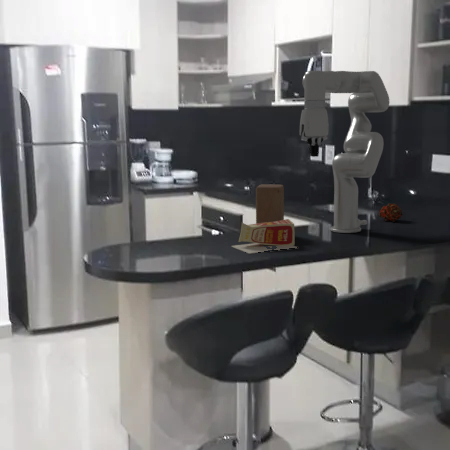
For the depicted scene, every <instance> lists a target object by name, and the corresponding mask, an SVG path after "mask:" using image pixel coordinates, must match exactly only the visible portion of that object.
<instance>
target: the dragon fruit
mask: <svg viewBox="0 0 450 450" xmlns="http://www.w3.org/2000/svg"><path fill="white" fill-rule="evenodd" d="M403 215H404V214H403V211H402V209H401V207H400V206H399V205H397V204H396V203H387V205H383V206H382V207H381V208H380V209H379V210H378V216H379V217H380V218H382V219H384V221H385V222H396V221H397V220H400V219H401V218H402V216H403Z"/></svg>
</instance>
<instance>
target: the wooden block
mask: <svg viewBox="0 0 450 450" xmlns="http://www.w3.org/2000/svg"><path fill="white" fill-rule="evenodd" d="M281 220H285V186H284V185H283V184H276V183H275V184H270V183H269V184H268V183H267V184H262V183H261V184H259V185H258V186H256V188H255V224H257V223H266V222H275V221H281Z"/></svg>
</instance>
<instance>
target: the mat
mask: <svg viewBox="0 0 450 450" xmlns="http://www.w3.org/2000/svg"><path fill="white" fill-rule="evenodd" d="M264 246H268V247H270V248H272V246H276V245H263V244H258V243H244V244H235V245H231V248H233V249H236V250H238V251H241V252H244V253H245V252H246V253H245V254H249V255H252V254H259V253H258V252H261V253H265V252H264V251H268V250H272V249H267V248H266V247H264ZM276 247H277V248H276V249H274V250H278V251H281V250H280V249H287V250H290V249H289V248H295V249H298V248H297V247H298V246H295V245H287V246H276Z"/></svg>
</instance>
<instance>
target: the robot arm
mask: <svg viewBox="0 0 450 450" xmlns="http://www.w3.org/2000/svg"><path fill="white" fill-rule="evenodd" d="M301 84H302V87H303V89H304V93H303V94H304V97H303V98H304V99H303V101H304V102H303V103H304V107H303V108H304V109H302V110H301V114H300V120H299V136H300V140H301V141H304V142H306V143H307V144H308V146H309V156H310V157H311V158H313V157H319V154H320V146H321V145H322V143H323V141H326V140H328V139H329V138H328V135H329V116H328V111H327V109H326V107H328V105H329V103H328V102H326V93H327V94H350V95H349V97H348V101H347V105H348V112H349V117H350V126H349V129H348V132H347V134H346V135H345V139H344V142H343V151H344V152H343V153H341V152H340V153H337V154H336V155H335V156H334V157H333V158H332V162H331V163H332V164H331V166H332V173H333V184H334V186H333V187H334V191H333V193H334V194H333V195H334V196H333V225H332V226H330V227H329V230H330V231H331V232H334V233H340V234H341V233H343V234H353V233H359V232H361V231H362V228H361V226H362V225H364V226H365V225H367V224H368V221H367V219H362V220H360V218H358V217H359V216H358V215H359V214H358V213H359V211H358V210H359V186H358V184H357V181H356V179H354V178H362V179H363V178H365V179H366V178H367V179H368V178H371V177H373V176H374V174H375V173H376V170H377V167H378V165H379V162H380V160H381V156H382V154H383V150H384V138H383V136H382V135H381V134H380V132H377V131H372V123H371V120H369V118H368V116H366V113H384V112H385V111H387V110H388V109H389V106H390V96H389V93H388V90H387V88H386V85H385V83H384V81H383V79H382V77H381V76H380V74H379V73H378V72H377V71H375V70H367V71H365V70H364V71H363V70H362V71H350V70H336V71H335V70H324V71H323V70H308V71H305V73H304V75H303V78H302V82H301Z"/></svg>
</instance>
